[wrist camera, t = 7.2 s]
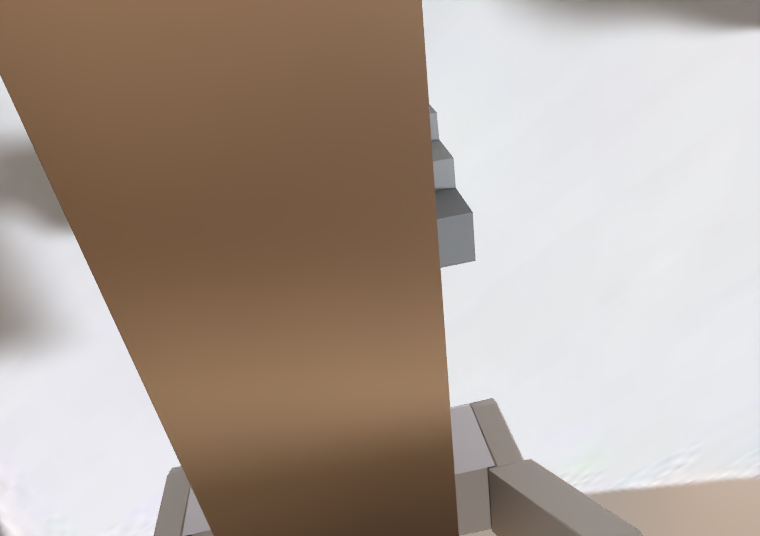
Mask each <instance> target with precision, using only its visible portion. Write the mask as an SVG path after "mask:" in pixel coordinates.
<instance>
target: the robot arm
mask: <svg viewBox="0 0 760 536" xmlns="http://www.w3.org/2000/svg"><path fill="white" fill-rule="evenodd" d="M450 414H451V428H452V443H453V457H454V471H455V486H456V500H457V514H458V529H459V535H464V534H468V533H473V532H478V531H483V530H488V529H492V531H493V532H494V533H495V534H496V535H497V536H643V535H642V534H641V532H640V531H639V530H638V529H637V528H635V527H633V526H632V525H630V524H629V523H627V522H626V521H624V520H623V519H621V518H620V517H618V516H617V515H615V514H614V513H612V512H611V511H609V510H608V509H606V508H604V507H603V506H602V505H600V504H599V503H597V502H595V501H594V500H592V499H591V498H589V497H588V496H586V495H585V494H583V493H582V492H580V491H579V490H577V489H576V488H574V487H573V486H571V485H570V484H568V483H567V482H565V481H564V480H562V479H561V478H559V477H558V476H556V475H555V474H553V473H552V472H550V471H549V470H547V469H545V468H544V467H542V466H541V465H539V464H538V463H536V462H535V461H533V460H532V459H529V460H523V457H522V455H521V453H520V451H519V449H518V447H517V445H516V443H515V440H514V438H513V436H512V434H511V432H510V430H509V428H508V426H507V424H506V421H505V419H504V417H503V415H502V413H501V411H500V409H499V407H498V404H497V402H496V401H495V400H494V399H493V398H491V399H487V400H482V401H478V402H473V403H469V404H464V405H459V406H455V407H451V408H450ZM154 536H214V535H213V533H212V531H211V529H210V527H209V524H208V522H207V520H206V518H205V516H204V514H203V511H202V509H201V507H200V505H199V503H198V501H197V499H196V496H195V494H194V492H193V490H192V488H191V486H190V483H189V481H188V479H187V477H186V475H185V473H184V470H183V468H182V466H180V467H175V468H172V469H171V471H170V472H169V474H168V475H167V479H166V484H165V488H164V492H163V497H162V501H161V505H160V510H159V514H158V519H157V523H156V527H155V532H154Z"/></svg>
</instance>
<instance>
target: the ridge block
mask: <svg viewBox="0 0 760 536" xmlns="http://www.w3.org/2000/svg"><path fill="white" fill-rule="evenodd" d="M429 113H430V127H431V141H432V156H433V170H434V184H435V199H436V213H437V227H438V242H439V256H440V268H442V267H447V266H452V265H457V264H461V263H466V262H471V261H475V246H474V229H473V212H472V211H471V209H470V208H469V206H468V205H467V204H466V202H465V201H464V199H463V198H462V196H461V195H460V194H459V192H458V191H457V189H456V187H455V174H454V160H453V157H452V155H451V154H450V153H449V152H448V150H447V149H446V148H445V147H444V145H443V144H442V143H441V141H440V140H439V134H438V123H437V112H436V111H435V110H434V109H433V108H432V107H431V106H430V105H429Z"/></svg>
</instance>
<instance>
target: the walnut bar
mask: <svg viewBox="0 0 760 536" xmlns="http://www.w3.org/2000/svg"><path fill="white" fill-rule="evenodd" d="M0 75H1V78H2V80H3V82H4V84H5V86H6V88H7V91H8V93H9V95H10V97H11V99H12V101H13V103H14V106H15V108H16V110H17V112H18V114H19V116H20V119H21V121H22V123H23V125H24V127H25V129H26V132H27V134H28V136H29V138H30V140H31V142H32V144H33V147H34V149H35V151H36V153H37V155H38V157H39V160H40V162H41V164H42V166H43V168H44V170H45V173H46V175H47V177H48V179H49V181H50V183H51V185H52V188H53V190H54V192H55V194H56V196H57V198H58V201H59V203H60V205H61V207H62V209H63V211H64V214H65V216H66V218H67V220H68V222H69V224H70V227H71V229H72V231H73V233H74V235H75V237H76V239H77V242H78V244H79V246H80V248H81V250H82V252H83V255H84V257H85V259H86V261H87V263H88V265H89V268H90V270H91V272H92V274H93V276H94V278H95V280H96V283H97V285H98V287H99V289H100V291H101V293H102V296H103V298H104V300H105V302H106V304H107V306H108V309H109V311H110V313H111V315H112V317H113V319H114V321H115V324H116V326H117V328H118V330H119V332H120V334H121V337H122V339H123V341H124V343H125V345H126V347H127V350H128V352H129V354H130V356H131V358H132V360H133V363H134V365H135V367H136V369H137V371H138V373H139V375H140V378H141V380H142V382H143V384H144V386H145V388H146V391H147V393H148V395H149V397H150V399H151V401H152V404H153V406H154V408H155V410H156V412H157V414H158V416H159V419H160V421H161V423H162V425H163V427H164V429H165V432H166V434H167V436H168V438H169V440H170V442H171V445H172V447H173V449H174V451H175V453H176V455H177V458H178V460H179V462H180V464H181V466H182V468H183V470H184V473H185V475H186V477H187V479H188V481H189V483H190V486H191V488H192V490H193V492H194V494H195V496H196V499H197V501H198V503H199V505H200V507H201V509H202V511H203V514H204V516H205V518H206V520H207V522H208V524H209V527H210V529H211V531H212V533H213V535H214V536H459V529H458V514H457V500H456V486H455V471H454V457H453V443H452V428H451V414H450V400H449V385H448V371H447V357H446V342H445V328H444V314H443V299H442V285H441V271H440V256H439V242H438V227H437V213H436V199H435V184H434V170H433V156H432V141H431V127H430V113H429V98H428V84H427V70H426V55H425V41H424V27H423V12H422V0H0Z"/></svg>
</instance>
